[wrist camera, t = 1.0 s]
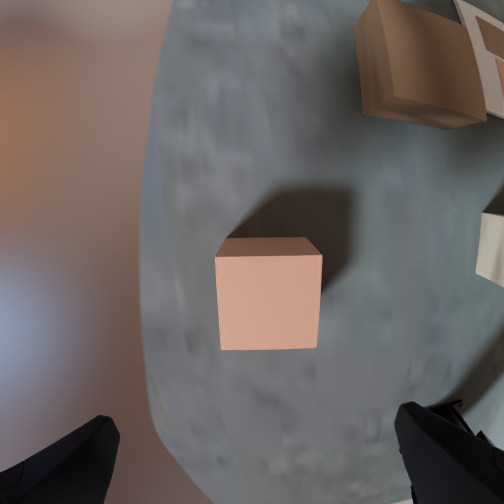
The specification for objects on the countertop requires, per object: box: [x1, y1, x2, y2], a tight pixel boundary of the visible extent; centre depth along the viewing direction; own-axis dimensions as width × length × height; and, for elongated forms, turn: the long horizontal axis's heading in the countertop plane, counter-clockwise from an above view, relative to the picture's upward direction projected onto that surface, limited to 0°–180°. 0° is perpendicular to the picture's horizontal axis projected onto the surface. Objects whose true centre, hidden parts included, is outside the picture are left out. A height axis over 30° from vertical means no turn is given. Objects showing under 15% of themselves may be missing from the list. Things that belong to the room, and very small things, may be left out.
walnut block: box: [353, 0, 487, 130], centre depth 13 cm, size 7×7×5 cm
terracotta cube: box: [215, 237, 322, 350], centre depth 16 cm, size 5×5×5 cm
